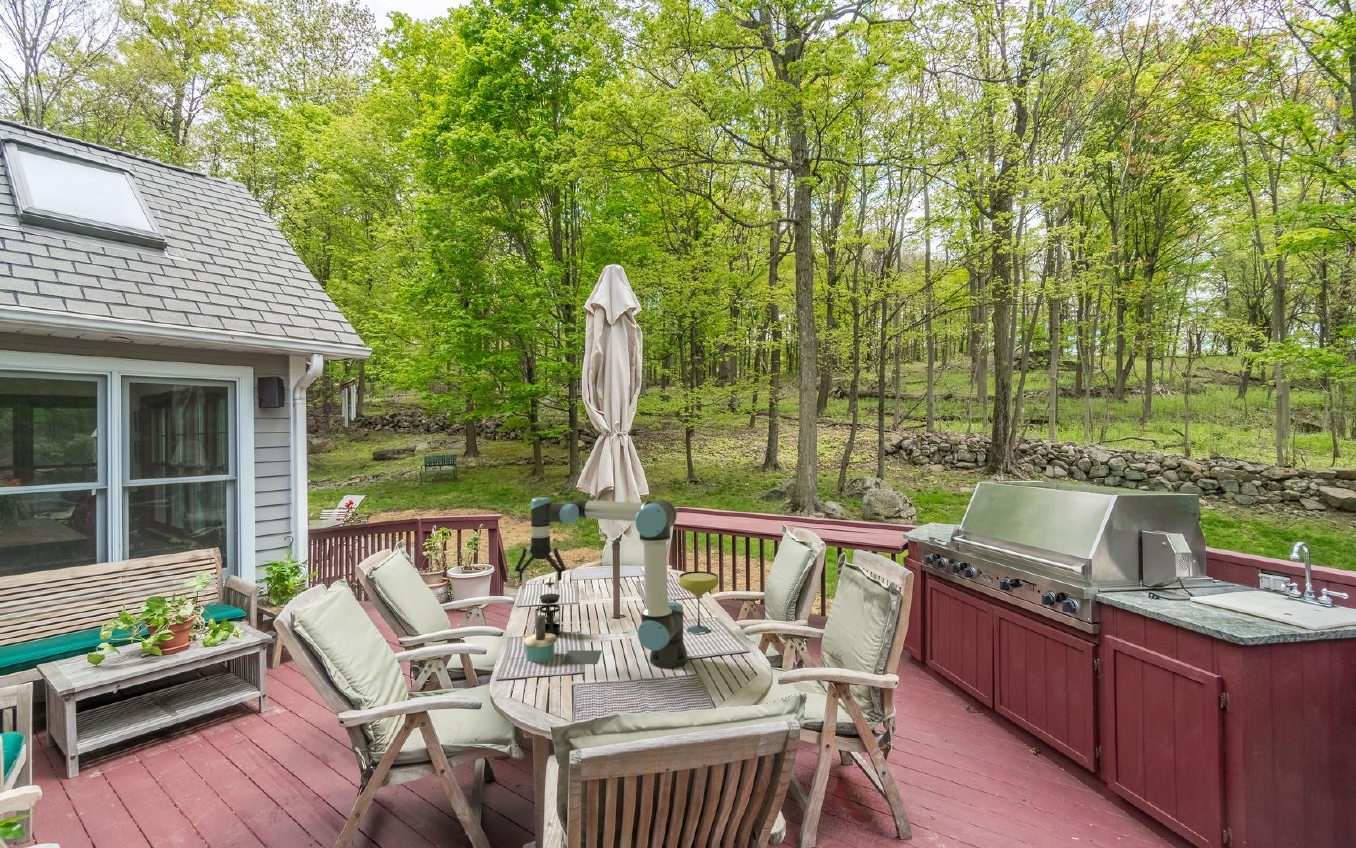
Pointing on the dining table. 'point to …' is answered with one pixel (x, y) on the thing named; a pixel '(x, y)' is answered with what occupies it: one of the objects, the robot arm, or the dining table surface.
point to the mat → (582, 657)
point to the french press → (550, 612)
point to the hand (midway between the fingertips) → (540, 588)
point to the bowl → (540, 653)
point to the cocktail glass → (698, 590)
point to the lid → (540, 635)
